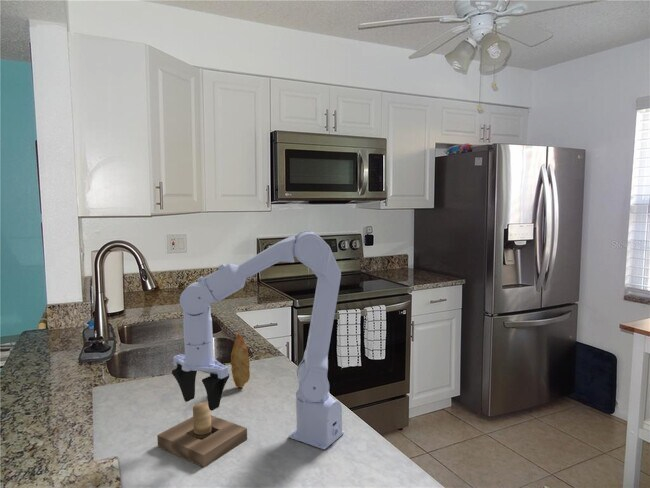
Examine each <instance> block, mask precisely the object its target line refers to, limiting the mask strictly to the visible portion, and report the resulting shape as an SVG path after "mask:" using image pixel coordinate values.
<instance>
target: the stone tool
mask: <svg viewBox="0 0 650 488" xmlns="http://www.w3.org/2000/svg"><path fill="white" fill-rule="evenodd" d="M230 365H231V375H232V380H233V382H234V384H235V387H236V388H244V386H245V385H246V383H248V382H249V380H250V376H251V375H250V356H249V353H248V347H247V346H246V343H245V340H244V338H243V337H242V335H241V333H240V332H239V333H237V336H236V337H235V340H234V343H233V347H232V350H231V353H230Z"/></svg>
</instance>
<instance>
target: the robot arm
mask: <svg viewBox="0 0 650 488" xmlns="http://www.w3.org/2000/svg"><path fill="white" fill-rule="evenodd" d="M294 257H295V258H296V259H297V260H298V261H299V262H300V263H301V264H303V265H304V266H306V267H308V268H309V269H310V270H311V272H312V273H313V274H314V275H315V276H316V278H317V279H316V280H317V281H316V287H315V293H314V299H313V303H312V304H313V305H312V309H311V317H310V324H309V329H308V336H307V342H306V347H305V350H304V351H303V352H304V353H303V358H302V360H301V361H300V363H299V364H298V366H297V368H296V376H297V378H298V389H297V391H296V392H295V405H296V407H295V408H296V429H294V430H293V431H292V432H291V433H289V434H288V438H290V439H293V440H296V441H299V442H302V443H304V444H307V445H308V446H309V445H310V446H313V447H315V448H319V449H321V450H326V449H327V448H329V447H330V445H332V444H333V443H334V442H335V441H337V440H338V439H339V438H340V437H341V436H342V435H344V434H345V431H344V430H343V417H342V416H343V415H342V414H343V412H342V411H343V409H342V408H343V407H342V405H341V402H340V401H338V400H337V399H335V398H333V397H332V396H331V395H330V382H329V380H328V371H329V359H328V358H329V351H330V344H331V337H332V331H333V326H334V320H335V315H336V309H337V303H338V296H339V291H340V284H341V278H342V271H341V269H340V267H339V264H338V262H337V260H336V258H335V256H334V253H333V251H332V249H331V247H330V245H329V244H328V243H327V242H326V241H325V240H324V239H323V238H322V237H321V236H320V235H318V234H317V233H316V232H314V231H312V230H303V231H300V232H299V233H297V234H296V235H291V236H288V237H286V238H284V239H282V240H279V241H277V242H276V243H273V244H272V245H270V246H269V247H267V248H266V249H264V250H262V251H261V252H259V253H257V254H256V255H254V256H252V257H251V258H249V259H247V260H246V261H244V262H243V263H241V264H234V263H228V264H226V265H225V263H221V264H220V265H218V267H217V270H215V271H213V272H212V273H210V274H208V275H206V276H200V277H198V278H197V281H198V282H197V281H196V282H195V281H194V282H192V283H190V284H189V285H188V286H187V287H185V288H184V290H183V291H182V292H181V294H180V296H179V305H180V308H181V309H182V312H183V313H182V316H183V321H182V325H183V343H184V354H182V353H180V354H178V355H174V356H173V359H172V360H173V366H175V367H176V368H174V369H172V370H171V374H172V376H173V377H174V378H175V381H177V382H176V383H177V384H178V386H179V388H180V391H181V394H182V397H183V400H184V402H185V403H187V402H190V401H192V400H194V399H195V395H196V377H197V372H202V373H205V374H208V375H209V376H207V377H204V378H202V379H201V382H202V384H203V386H204V388H205V391H206V397H207V403H208V406H209V409H210V410H211V412H212V411H214V410H216V409H218V408H220V403H221V399H222V395H223V391H224V388H225V387H226V384H227V383H228V380H229V379H230V373H229V367H228V366H227V365H224V364H222V363H221V362H220V361H218V360H217V359H215V358H214V354H215V353H214V338H213V337H214V336H213V318H212V309H211V303H212V304H213V303H218V302H220V301H222V300H224V299H225V298H227V297H229V296H231V295H233V294H235V293H236V292H238V291H239V290H242V289H243V288H244V287H245V284H246V280H247V279H249V278H250V277H252V276H254V275H256V274H258V273H260V272H262V271H264V270H266V269H267V268H270V267H272V266H274V265H275V264H278V263H282V262H283V263H295V259H294Z"/></svg>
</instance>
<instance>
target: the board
mask: <svg viewBox="0 0 650 488" xmlns="http://www.w3.org/2000/svg"><path fill="white" fill-rule="evenodd" d="M211 428H212V434H211V435H210V436H208V437H206V438H205V439H203V440H200V439H197V438H195V437H194V424H193V416H192V417H189V418H187V419H186V420H184V421H182V422H180V423H178V424H175V425H174V426H172V427H170V428H168V429H166V430H164V431H162V432H160V433H158V434H157V439H156V440H157V447H159V448H160V449H162V450H165V451H168V452H169V453H171V454H174V455H176V456H178V457H180V458H182V459H185V460H187V461H189V462H191V463H193V464H196V465H197V466H199V467H203V468H205V467H207V466H208V465H210V464H212V463H213V462H214V461H217V460H218V459H219V458H221V457H222V456H224V455H226V454H227V453H228V452H230V451H231V450H234V449H235V448H236V447H238V446H240V445H241V444H242V443H244V442H246V441H247V440H248V428H247V427H245V426H242V425H239V424H237V423H234V422H231V421H228V420H225V419H223V418H220V417H217V416H214V415H212V414H211Z"/></svg>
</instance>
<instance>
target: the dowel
mask: <svg viewBox="0 0 650 488" xmlns="http://www.w3.org/2000/svg"><path fill="white" fill-rule="evenodd" d="M211 415H212V411H211V410H210V409H209V406H208V402H199V403H196V404H194V405H193V406H192V417H193V424H194V437H195V438H197V439H200V440H203V439H205V438H206V437H208V436H210V435H211V434H212V428H211Z"/></svg>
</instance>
